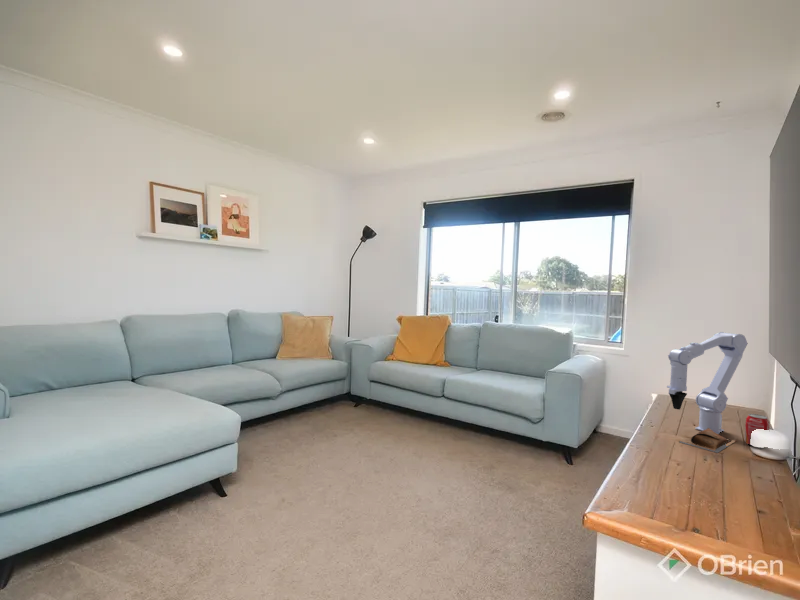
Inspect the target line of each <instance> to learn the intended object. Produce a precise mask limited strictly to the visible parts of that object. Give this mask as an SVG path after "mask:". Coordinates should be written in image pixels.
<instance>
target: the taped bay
mask: <svg viewBox="0 0 800 600" xmlns="http://www.w3.org/2000/svg"><path fill="white" fill-rule="evenodd" d="M680 443H681V444H683V445H688V446H690V445H691V447H694V446H695V448H698V449H701V450H705V451H708V452H713V453H716V454H718V453H720V452H722V451H723V450H725V449H726V447H727V448H728V447H729V446H726V443H724V444H725V445H724V444H721V445H720V446H719V447H717V449H714V450H713V449H711V448H707V447H704V446H700V445H697V444H693V443H689V442H684V441H679V444H680Z"/></svg>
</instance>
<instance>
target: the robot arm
mask: <svg viewBox="0 0 800 600" xmlns="http://www.w3.org/2000/svg"><path fill="white" fill-rule="evenodd" d="M747 346H748V340H747V338H746V337H745V335H743V334H741V333H732V332H731V333H730V332H724V331H720V332H717V333H714V334H713V336H712V337H709V338H707V339H705V340H703V341H702V342H699V343H698V342H693V341H692V342H690V343H689V344H688V345H686V346H681V347H680V348H679V349H676V348H675V349H672V350H671V351H670V352H669V354H668V355H667V356H668V360H669V361H670V363H669V364H670V367H671V368H670V381H669V382H670V384H669V385H667V386H666V388H668V394H669V396H670V399H671V402H672V403H671V404H672V408H673V409H675V410H681V409H682V408H681V407H682V405H683V402H684V400H685V398H686V397H687V396H688V393H687V391H688V386H687V382H688V380H687V379H688V365H689V364H690V363H691V362H692V360H693V359H696V358H699V357H701V356H702V355H704V353H705V351H708V350H710V349H713V348H716V347H718V348H719V349H720V351H721V352H722V353H724V357H723V358H722V361H721V363H720V365H719V367H718V368H717V371H716V373H715V374H714V376H713V378H712V381H710V384H709V386H707V387H704V388H702V390H701V391H700V392H699V393H698V394H697V395H696V397H695V403H696V404H697V406H698V409H699V415H698V416H699V419H698V421H699V422H698V426H696V427H695V428H694V429H695V430H698V431H703V430H706V429H707V428H710V429H711V430H712V431H713V432H715V433H717V434H718V435H720V434H721V433H723V432H724V431H725V429H723V428H722V422H723V415H722V413H723V412H724V411H725V410H726V408H727V402H728V399H729V397H728V396H727V395H726V394H725V391H726V389H727V387H728V385H729V383H730V382H731V380H732V378H733V376H734V374H735V371H736V370H737V368H738V366H739V364H740V363H741V360H742V359H743V354H744V351H745V350H746V347H747ZM722 431H723V432H722ZM720 432H721V433H720Z"/></svg>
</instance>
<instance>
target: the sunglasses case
mask: <svg viewBox="0 0 800 600" xmlns="http://www.w3.org/2000/svg"><path fill="white" fill-rule="evenodd" d="M690 441H691V444H693V443H694V444H693V445H697V444H698V445H697V446H700V447H705V446H706V447H705V448H708V449H712V450H713V449H714V450H716V449H717V448H719V447H721V446H722V445H724V444H725V443H727V442H726V441H728V440H727V439H726V437H724V436H722V435H720V434H717V433H715V432H713V431H712V430H711V429H710V428H707V429H706V430H703V431H702V430H700V431H699V432H698V433H696V434H694V435H692V436H691V439H690ZM724 442H725V443H724ZM728 442H729V441H728ZM718 446H719V447H718Z"/></svg>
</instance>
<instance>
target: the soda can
mask: <svg viewBox="0 0 800 600" xmlns="http://www.w3.org/2000/svg"><path fill="white" fill-rule="evenodd" d="M744 425H745V426H744V427H745V428H744V443H745V444H746V445H748V444H750V439H751V433H752V431H754V430H756V429H764V430H769V431H770V421H769V419H768V416H766V415H762V414H757V413H748V415H747V417H746V418H745V424H744Z"/></svg>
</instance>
